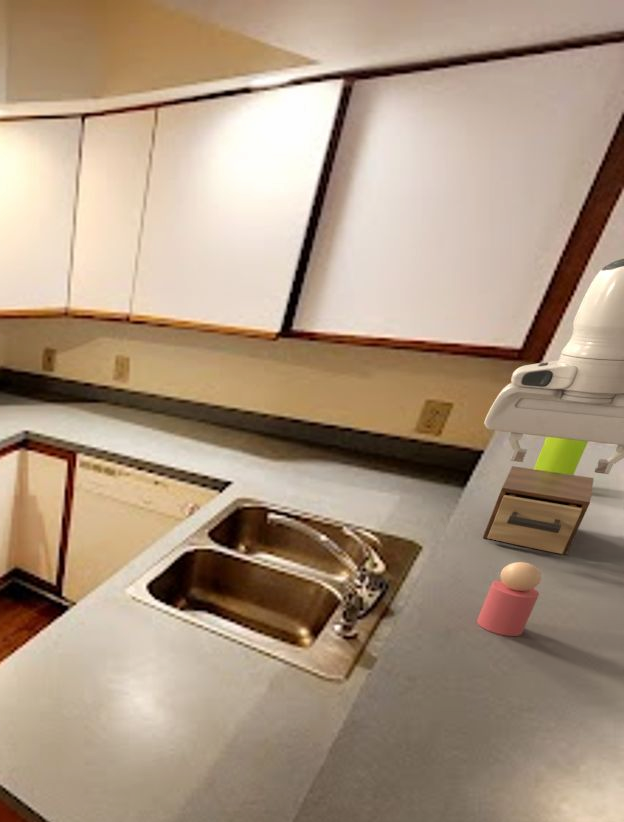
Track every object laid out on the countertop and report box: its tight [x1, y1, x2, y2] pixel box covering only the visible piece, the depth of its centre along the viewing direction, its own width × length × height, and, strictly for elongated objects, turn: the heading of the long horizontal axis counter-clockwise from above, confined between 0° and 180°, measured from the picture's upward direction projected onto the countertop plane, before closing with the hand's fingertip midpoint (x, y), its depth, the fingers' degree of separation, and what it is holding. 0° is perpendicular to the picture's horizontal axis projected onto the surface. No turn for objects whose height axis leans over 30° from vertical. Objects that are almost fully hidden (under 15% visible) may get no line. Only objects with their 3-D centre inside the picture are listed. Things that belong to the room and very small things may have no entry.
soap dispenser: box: [533, 436, 589, 475], centre depth 123 cm, size 6×7×20 cm
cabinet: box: [482, 466, 594, 556], centre depth 107 cm, size 14×10×9 cm
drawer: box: [487, 493, 582, 555], centre depth 104 cm, size 18×9×8 cm, turn 134°
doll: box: [476, 561, 542, 637], centre depth 82 cm, size 5×5×10 cm
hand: (557, 466), depth 96 cm, fingers open, 8 cm apart
